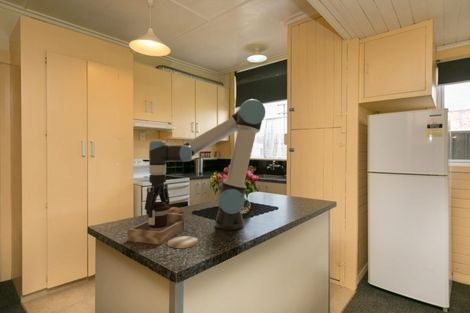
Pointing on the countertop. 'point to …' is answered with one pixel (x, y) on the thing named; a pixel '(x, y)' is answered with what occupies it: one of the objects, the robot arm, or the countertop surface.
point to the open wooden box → (155, 237)
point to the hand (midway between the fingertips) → (158, 221)
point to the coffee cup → (160, 216)
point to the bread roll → (175, 210)
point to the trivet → (182, 242)
